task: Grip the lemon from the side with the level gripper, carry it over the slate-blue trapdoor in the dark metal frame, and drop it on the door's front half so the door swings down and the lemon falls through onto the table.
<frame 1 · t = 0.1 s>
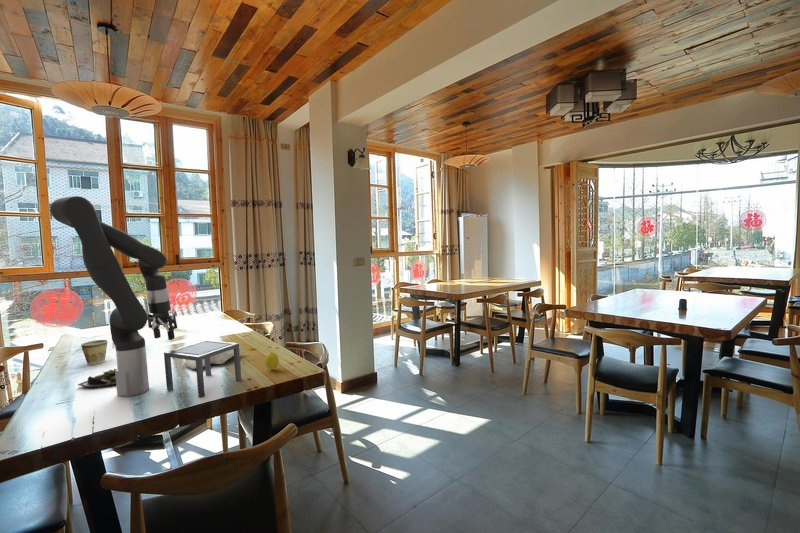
hand: (164, 338, 157), 17 cm above the table, tool pointing down, fingers open, 8 cm apart
salad plate: (109, 382, 159), on the table
ceramic cup: (97, 362, 187), on the table
trapdoor frame: (205, 385, 150), on the table
trapdoor: (202, 348, 149), point 14 cm above the table, hinge at 0.0°
lemon: (272, 370, 165), on the table
rock: (216, 362, 180), on the table
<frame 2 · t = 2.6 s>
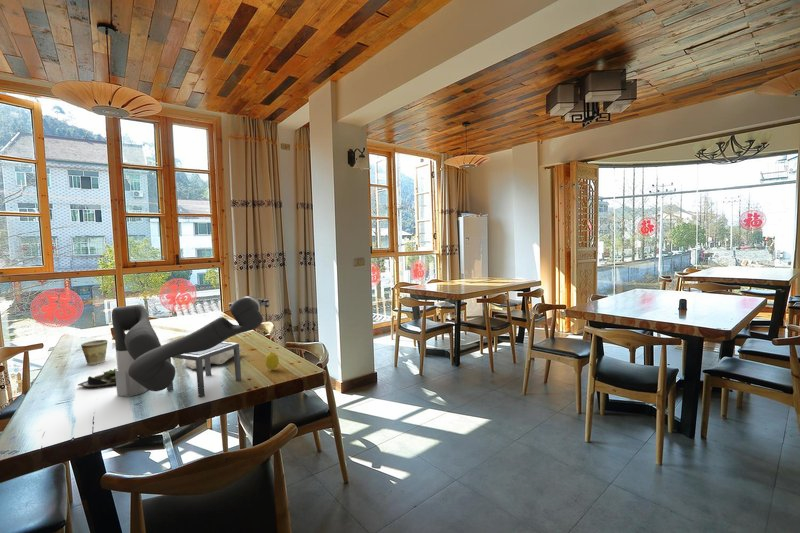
hand: (250, 302, 151), 32 cm above the table, tool horizontal, fingers open, 8 cm apart
nothing on the table moved.
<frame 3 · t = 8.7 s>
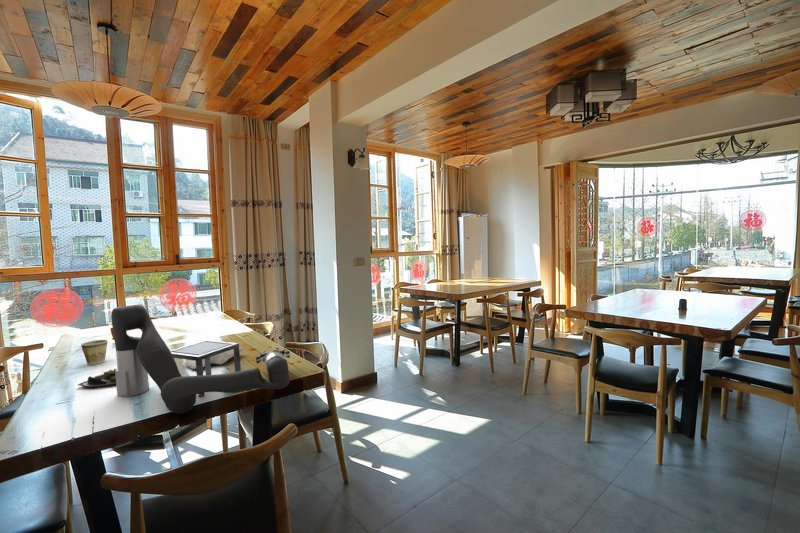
hand: (271, 351, 167), 7 cm above the table, tool horizontal, fingers closed on lemon, 4 cm apart
lemon: (272, 370, 165), on the table, touching gripper
everything else where it was.
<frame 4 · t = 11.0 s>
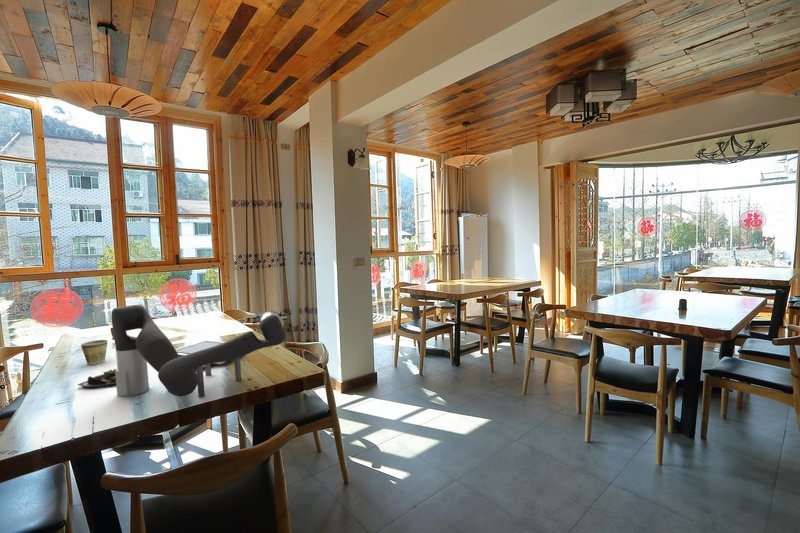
hand: (268, 314, 166), 24 cm above the table, tool horizontal, fingers closed on lemon, 4 cm apart
lemon: (268, 333, 163), point 16 cm above the table, touching gripper
everything else where it was.
when the fingers open (24 cm above the table, at t = 13.5 s): lemon drops 14 cm, point 2 cm above the table.
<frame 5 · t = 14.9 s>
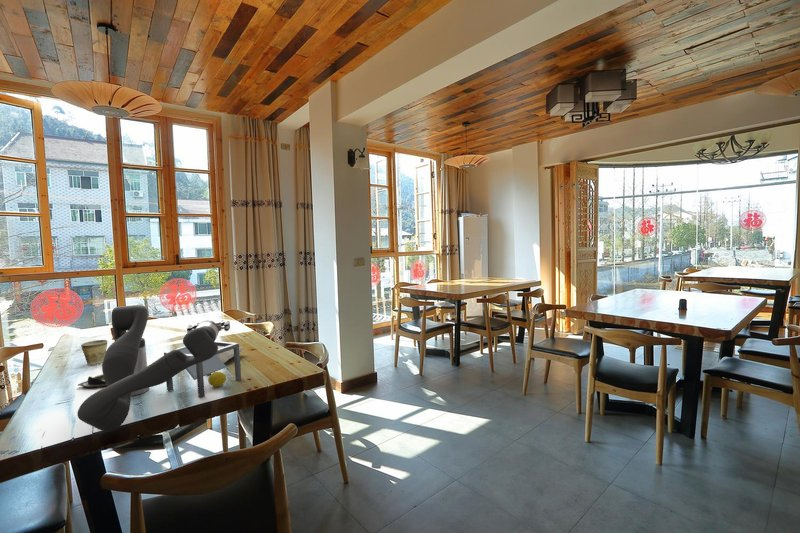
hand: (210, 324, 150), 24 cm above the table, tool horizontal, fingers open, 8 cm apart
trapdoor: (200, 359, 150), point 10 cm above the table, hinge at -41.2°
lemon: (210, 379, 150), point 2 cm above the table
everything else where it was.
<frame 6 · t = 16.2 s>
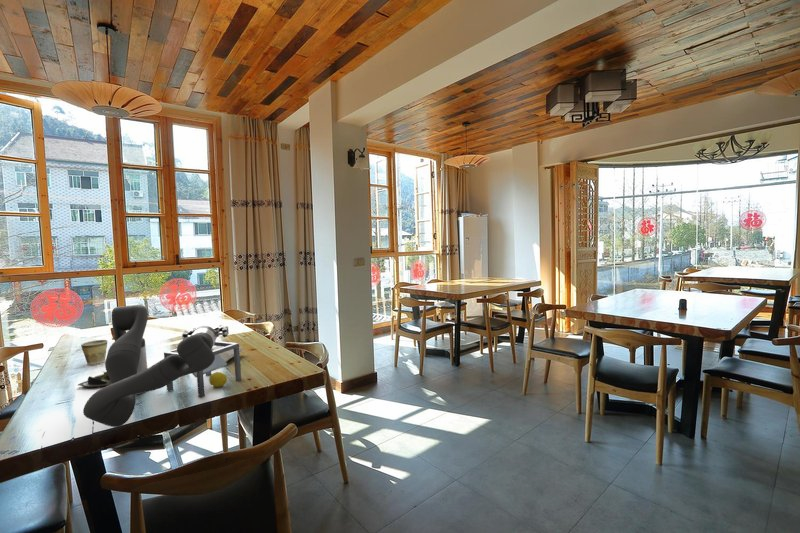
hand: (208, 329, 140), 24 cm above the table, tool horizontal, fingers open, 8 cm apart
trapdoor: (200, 358, 150), point 11 cm above the table, hinge at -35.4°
everything else where it was.
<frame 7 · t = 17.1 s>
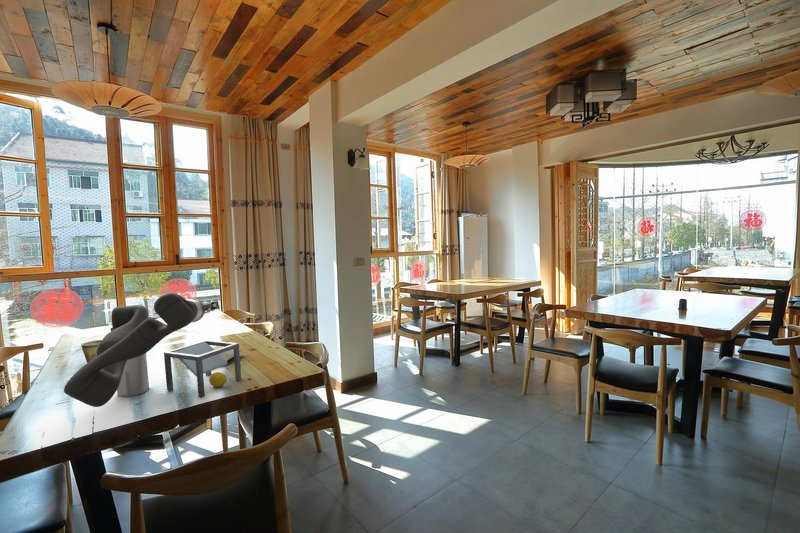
hand: (200, 310, 138), 31 cm above the table, tool horizontal, fingers open, 8 cm apart
trapdoor: (200, 357, 150), point 11 cm above the table, hinge at -33.2°
everything else where it was.
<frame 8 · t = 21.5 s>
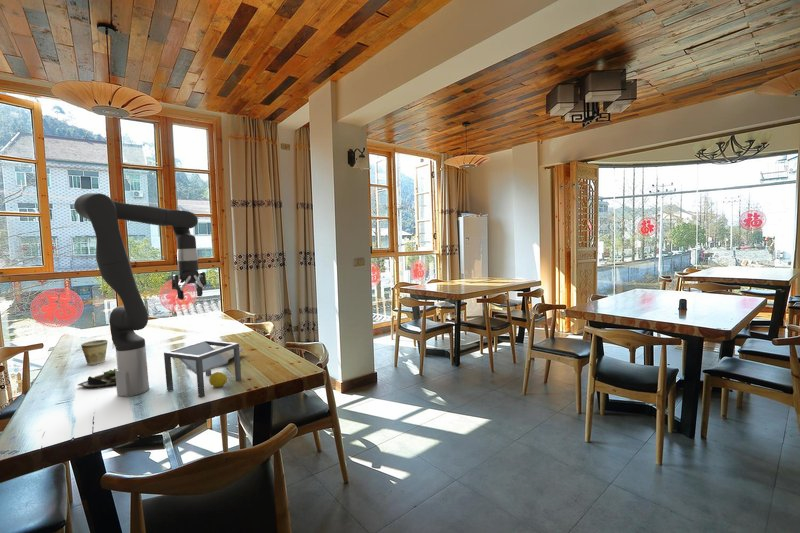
hand: (190, 297, 161), 33 cm above the table, tool pointing down, fingers open, 8 cm apart
trapdoor: (201, 357, 150), point 11 cm above the table, hinge at -30.2°
everything else where it was.
at the end: lemon point 2.7 cm above the table; lemon inside the target area (1.8 cm from its centre), point 2.7 cm above the table; the gripper is holding nothing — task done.
